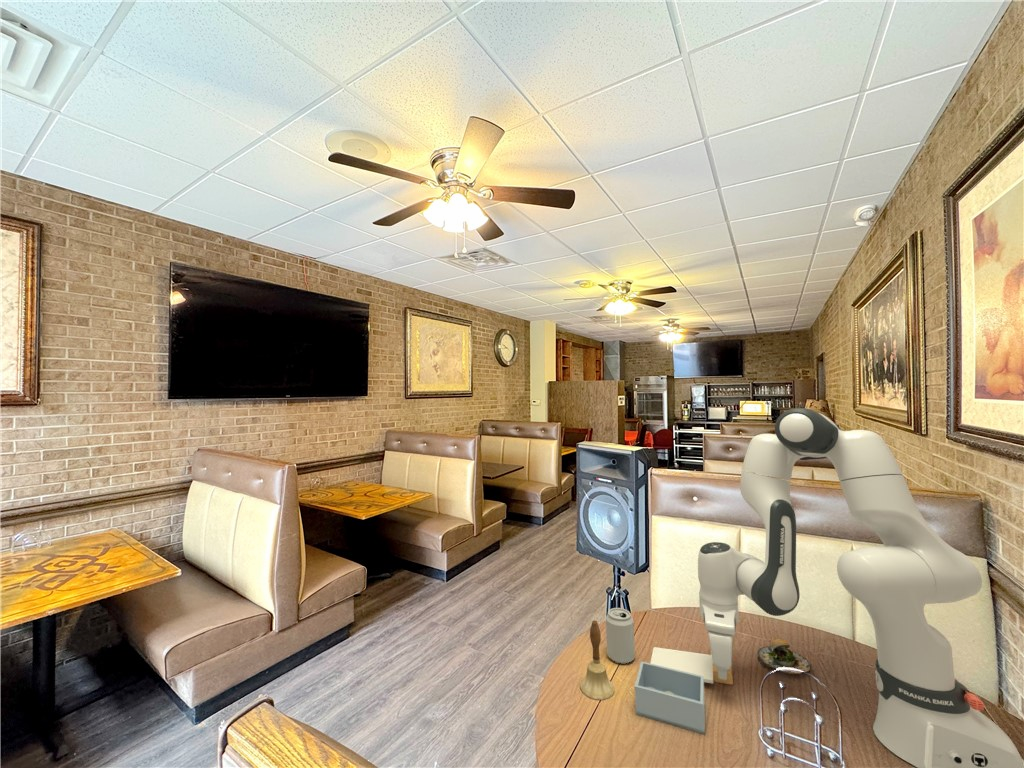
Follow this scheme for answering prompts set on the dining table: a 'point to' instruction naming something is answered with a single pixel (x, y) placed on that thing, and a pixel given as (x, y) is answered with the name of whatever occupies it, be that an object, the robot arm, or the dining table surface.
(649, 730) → the dining table surface
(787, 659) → the burger
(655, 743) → the dining table surface
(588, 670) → the hand bell
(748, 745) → the dining table surface
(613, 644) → the can
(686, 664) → the lid
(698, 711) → the tub
